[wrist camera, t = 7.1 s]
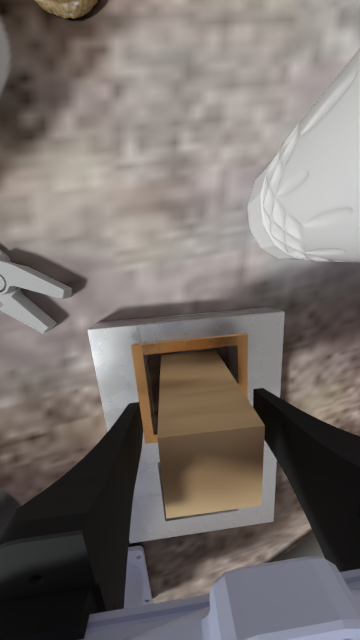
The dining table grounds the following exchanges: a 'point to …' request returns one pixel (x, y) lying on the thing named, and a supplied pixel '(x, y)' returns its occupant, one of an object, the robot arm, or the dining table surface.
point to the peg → (207, 437)
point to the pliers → (5, 286)
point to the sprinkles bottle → (67, 7)
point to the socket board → (135, 386)
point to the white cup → (315, 181)
